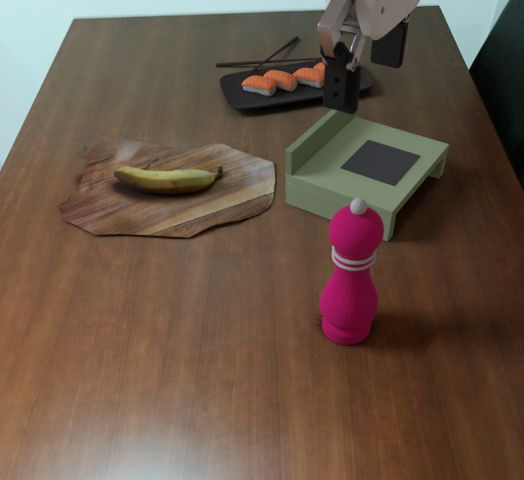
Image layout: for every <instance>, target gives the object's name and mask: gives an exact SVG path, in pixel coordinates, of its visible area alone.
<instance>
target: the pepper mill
mask: <svg viewBox="0 0 524 480" xmlns="http://www.w3.org/2000/svg"><path fill="white" fill-rule="evenodd" d="M383 236H384V224H383V221H382V218H381V217H380V215H379V214H378V213H377V212H376V211H375V210H374V209H372V208H370V207H368V206H367V203H366V201H365V200H364V199H362V198H356V199H354V200H353V201H352V202H351V205H349V206H346V207H343V208H342V209H340V210H339V211H338V212H337V213H336V214H335V215H334V216H333V218H332V220H330V222H329V225H328V238H329V242H330V245H331V259H332V262H333V264H334V265H335V266H334V270H333V274H332V276H331V277H330V278H329V280H328V281H327V282H326V284H325V285H324V287H323V289H322V291H321V293H320V298H319V305H318V306H319V310H320V314H321V315H322V322H321V327H322V331H323V333H324V335H325V336H326V337H327V338H328V340H330V341H332V342H333V343H336V344H339V345H343V346H351V345H357V344H359V343H361V342H363V341H364V340H365V339H367V337H368V336H369V335H370V332H371V328H372V322H373V320H374V318H375V317H376V315H377V313H378V309H379V298H378V294H377V293H378V292H377V289H376V287H375V284H374V282H373V280H372V276H371V267H372V266H373V265H374V263H375V262H376V259H377V253H378V249H379V247H380V245H381V244H382V243H383V241H384V240H383Z"/></svg>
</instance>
